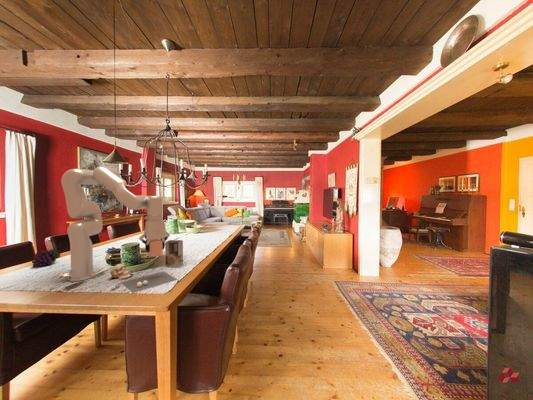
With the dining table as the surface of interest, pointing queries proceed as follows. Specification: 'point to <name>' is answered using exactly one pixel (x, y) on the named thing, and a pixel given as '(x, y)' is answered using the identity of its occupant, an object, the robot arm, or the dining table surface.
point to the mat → (152, 281)
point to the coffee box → (174, 253)
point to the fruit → (46, 258)
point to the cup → (155, 247)
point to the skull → (120, 272)
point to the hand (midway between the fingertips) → (155, 250)
